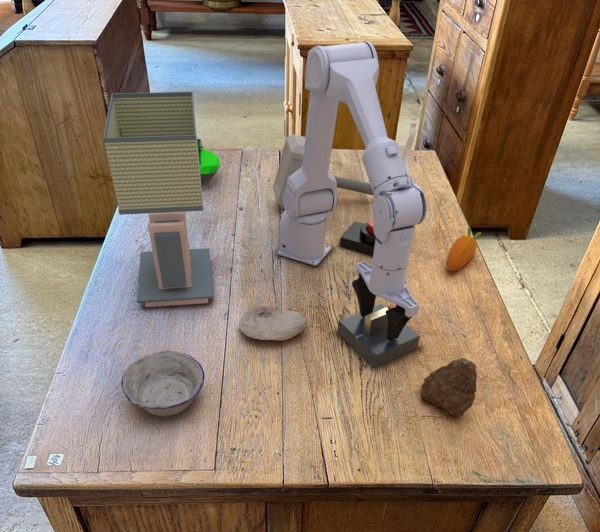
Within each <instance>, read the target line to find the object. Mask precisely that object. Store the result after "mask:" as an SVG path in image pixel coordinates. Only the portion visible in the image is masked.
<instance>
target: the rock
mask: <svg viewBox="0 0 600 532" xmlns="http://www.w3.org/2000/svg"><path fill="white" fill-rule="evenodd" d="M477 377H478V375H477V369H476V364H475V362H473V361H471V360H469V359H467V358H465V357H459V358H457V359H452V360H451V361H450V362H449V363H448V364H447V365H443V366H440V367H439V368H437V369H435V371H432V372H430V373H429V375H428V376H426V377H425V378H424V379H423V383H422V385H421V391H420V396H421V397H422V398H423V400H425V401H426V402H429V403H433V404H434V406H436V407H437V406H438V407H440V408H442V409H444V411H445V412H446V413H447V414H449V415H451V416H453V417H455V418H456V417H457V418H458V417H459V418H461V417H462V416H464V414H465V413H466V412H467V411H468V410H469V409H471V408H472V406H473V403H474V401H475V399H476V392H477V379H478V378H477Z"/></svg>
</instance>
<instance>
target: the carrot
mask: <svg viewBox="0 0 600 532" xmlns="http://www.w3.org/2000/svg"><path fill="white" fill-rule="evenodd" d="M471 234H472V229H471V228H470V227H468V228H467V234H463V235H462V236H460V237H457V238H456V239H455V240H454V242H453V244H452V245H451V247H450V249H449V251H448V255H447V259H446V268H447V270H448V271H450V272H453V271H456V270H458V269H460V268H462V267H464V266H465V265H466V264H467V263H468V262H469V261H470V260H471V259H472V258H473V256H474V255H475V253H476V249H477V246H478V244H477V242H476V241H475V240H477V238H479V237H480V236H481V235H482V233H481V232H480V231H478V232H477V233H476V234H475V235H473V236H471Z"/></svg>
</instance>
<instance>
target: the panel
mask: <svg viewBox="0 0 600 532" xmlns="http://www.w3.org/2000/svg"><path fill="white" fill-rule="evenodd" d="M385 307H386V306H385V305H384V304H382V303H380V304H377V305H374V309H373V312H376V311H378V310H380V309H383V308H385ZM373 312H372V313H373ZM364 322H365V317H362V316H361V314H360V311H359V312H356V313H355V314H352V315H350V316H347V317H345V318H342V319H339V320H338V325H337V335H338V336H339V337H341V338H342V339H343V340H344V341H345V342H346V343H347V344H348V345H349V346H350V347H351V348H352V349H353V350H354V351H355V352H357V353H358V354H359V356H361V357H362V358H363V359H364V360H365V361H366V362H367V363H368V364H369V365H370V366H371V367H372V368H373V369H375V368H377V367H379V366H382V365H384V364H386V363H388V362H391V361H393V360H395V359H397V358H399V357H402V356H404V355H407V354H409V353H410V352H413V351H415V350H417V349H418V347H419V343H420V338H421V335H420V334H418V333H417V332H416V331H415V330H414V329H412V328H411V327H410V326H409V325H408V324H406V325H405V326H404V328H403V330H402V331H401V333H400V335H399V337H398V338H396V339H394V340H392V341H389V340H388V339H387V330H388V328H386V329H384V330H381V331H379V332H377V333H374V334H372V335H370V336H368V335H367V334H366V333H365V332H364V331H363V329H364Z"/></svg>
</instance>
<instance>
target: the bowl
mask: <svg viewBox="0 0 600 532" xmlns="http://www.w3.org/2000/svg"><path fill="white" fill-rule="evenodd" d="M204 382H205V370H204V367H203V366H202V364H201V363H200V362H199V361H198V360H197V359H195V357H193V356H192V355H190V354H187V353H183V352H181V351H175V350H174V351H172V350H166V351H157V352H154V353H151V354H148V355H145V356H142V357H141V358H138V359H137V360H135V361H134V362H132V363H131V364H130V365H128V366H127V367H126V369H125V370H124V371H123V373H122V376H121V381H120V384H121V391H122V392H123V394H124V397H125V398H126V399H127V400H128V402H130V404H132V405H134V406H136V407H138V408H140V409H142V410H144V411H145V412H146V413H148V414H149V415H154V416H158V417H170V416H174V415H178V414H179V413H182V412H183V411H185V410H186V409H187V408H188V407H189V406H190V405H191V404H192V402H193V401H194V399H195V398H196V397H197V396H198V394H199V393H200V391H201V390H202V388H203V385H204Z"/></svg>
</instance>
